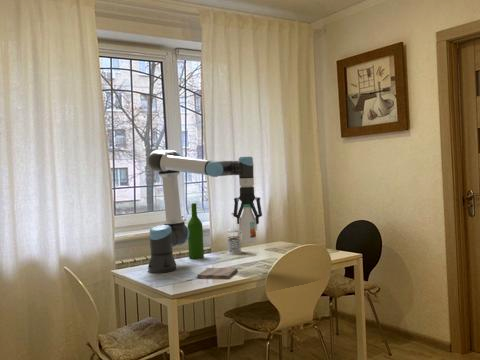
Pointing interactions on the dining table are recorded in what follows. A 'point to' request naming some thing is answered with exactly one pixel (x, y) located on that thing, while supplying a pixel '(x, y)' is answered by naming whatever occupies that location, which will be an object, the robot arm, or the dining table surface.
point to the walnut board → (217, 273)
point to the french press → (230, 247)
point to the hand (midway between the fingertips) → (248, 230)
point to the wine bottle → (195, 235)
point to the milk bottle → (247, 225)
